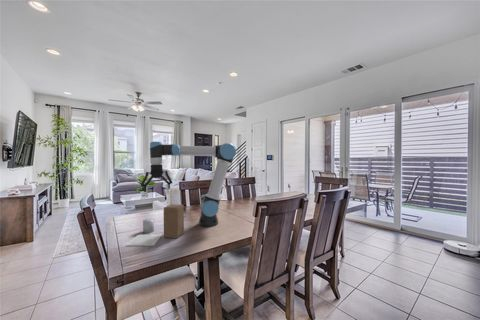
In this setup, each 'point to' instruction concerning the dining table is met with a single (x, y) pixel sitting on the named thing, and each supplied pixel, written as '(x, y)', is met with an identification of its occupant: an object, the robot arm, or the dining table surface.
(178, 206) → the wooden block
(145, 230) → the pale grey egg
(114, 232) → the dining table surface
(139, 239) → the shallow square tray
